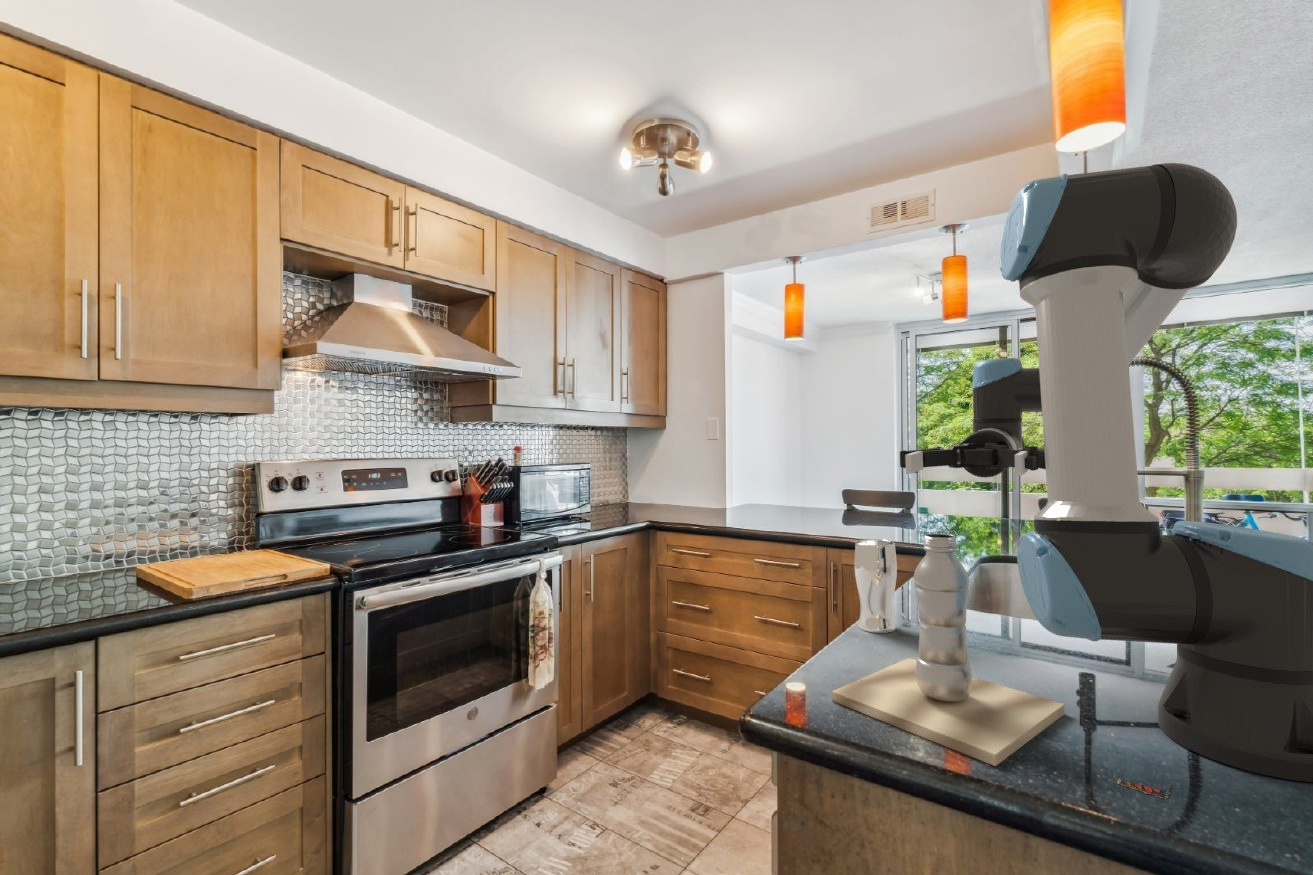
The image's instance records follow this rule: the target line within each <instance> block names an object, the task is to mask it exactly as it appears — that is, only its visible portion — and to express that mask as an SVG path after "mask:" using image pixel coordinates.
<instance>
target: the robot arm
mask: <svg viewBox="0 0 1313 875" xmlns="http://www.w3.org/2000/svg"><path fill="white" fill-rule="evenodd" d="M1237 227H1238V213H1237V208H1236V205H1235V201H1234V198H1233V195H1232V194H1231V192H1230V191H1229V189H1228V188H1227V187H1226V186H1225V185H1224V183H1223V181H1221V179H1219V178H1218V177H1217V176H1215V175H1214V174H1212V173H1211V172H1208V171H1206V170H1205V169H1204V168H1201V167H1198V166H1196V165H1192V164H1191V165H1190V164H1185V163H1180V162H1165V163H1163V162H1162V163H1158V164H1157V163H1156V164H1152V165H1145V166H1137V167H1129V168H1128V167H1127V168H1119V169H1111V170H1101V171H1093V172H1083V173H1076V174H1068V173H1062V174H1061V175H1059V176H1058V175H1057V176H1053V177H1046V178H1040V179H1036V180H1031V181H1029V182H1028V183H1026V184H1025V185H1024V186H1022V187H1021V188H1020V190H1018V192H1017V194H1016V195H1015V197H1014V199H1013V201H1012V203H1011V205H1010V209H1009V211H1008V213H1007V216H1006V220H1005V224H1004V228H1003V234H1002V238H1001V244H1000V254H999V270H1000V272H1001V276H1002V278H1003V279H1004V280H1006V281H1010V282H1011V283H1013V282H1016V281H1018V284H1019V286H1018V287H1019V297H1020V299H1021V300H1022V301H1024V302H1026V303H1028V304H1030V305H1031V306H1032V307H1033V308H1034V310H1035V323H1036V324H1035V325H1036V339H1037V354H1038V355H1037V356H1038V368H1037V367H1032V368H1030V367H1029V368H1027V367H1026V368H1025V367H1023V364H1022V360H1020V358H1017V357H1016V358H1015V357H1012V358H1010V357H1009V358H1007V357H1006V358H1005V357H1004V358H991V359H983V360H978V361H977V362H975V364H974V366H973V373H972V385H971V389H972V411H973V413H972V414H973V419H972V421H973V422H972V433H970V434H968V435H967V436H965V437H964V438H963V440H962V441H961V442H960V444H959V445H949V446H948V447H947V448H945V449H944V447H942V446H936V447H932V448H923V449H912V450H900V451H899V467H900V468H901V469H905V474H906V475H908V474H910V475H912V474H914V473H915V474H917V473H919V471H922V470H924V468H933V467H935V468H936V467H946V466H947V467H949V468H950V469H961V468H963V469H964V470H965V471H966V472H967V473H969V474H970V475H972V476H975V477H979V478H993V477H995V476H997V475H1000V474H1002V473H1003V472H1004V471H1006V470H1007V469H1009V468H1014V476H1015V477H1017V476H1018V477H1022V476H1023V475H1025V473H1027V472H1028V471H1029V470H1030V471H1037V470H1039V469H1042V470H1045V478H1046V491H1047V492H1046V493H1047V495H1046V496H1047V502H1046V505H1045V506H1043V508H1042V509H1040V510H1039V511H1038V512H1037V513H1036V514H1035V515H1034V516H1033V524H1034V525H1033V526H1034V531H1033V530H1029V531H1027V532H1024V533H1022V535H1021V536H1020V537H1019V539H1018V542H1017V549H1018V550H1017V551H1016V559H1017V560H1016V561H1017V568H1018V569H1017V570H1018V573H1019V574H1018V575H1019V578H1020V583H1021V586H1022V589H1023V592H1024V593H1023V594H1024V595H1025V598H1026V601H1027V603H1028V605H1029V606H1028V607H1030V610H1031V612H1032V613H1033V616H1034V617H1035V619H1036V620H1037V621H1038V623H1039V624H1040V625H1041V626H1042V627H1043V628H1044V629H1045V630H1047V631H1048V632H1050V633H1051V634H1053V635H1055V636H1059V637H1065V638H1073V639H1075V638H1076V639H1083V640H1084V639H1086V640H1089V641H1091V642H1098V641H1103V640H1104V641H1105V640H1106V641H1121V642H1135V643H1136V642H1138V643H1140V642H1141V643H1153V644H1154V643H1157V644H1176V661H1175V663H1174V665H1173V668H1172V670H1171V673H1170V675H1169V677H1168V680H1167V682H1166V683H1165V686H1164V689H1163V691H1162V694H1161V696H1160V699H1159V701H1158V705H1157V712H1158V714H1157V715H1158V719H1157V720H1158V721H1157V722H1158V727H1159V728H1160V730H1161V731H1162V732H1163V733H1164V734H1165V735H1166V736H1168V738H1170V739H1171V740H1173V741H1174V742H1176V743H1177V744H1179V745H1181V746H1182V747H1184V748H1186V749H1188V750H1190V751H1192V752H1194V753H1197V754H1198V755H1200V756H1203V757H1205V758H1208V759H1211V760H1213V761H1217V762H1219V763H1222V764H1225V765H1228V766H1231V767H1233V768H1238V769H1240V770H1244V771H1247V772H1252V773H1255V774H1260V775H1264V776H1269V777H1273V778H1278V779H1285V780H1291V781H1297V782H1298V781H1299V782H1305V783H1306V782H1308V783H1313V541H1310V540H1309V539H1305V538H1303V537H1298V536H1295V535H1288V534H1285V533H1278V532H1273V531H1269V530H1268V531H1267V530H1261V529H1257V528H1249V527H1243V526H1235V525H1229V524H1228V525H1227V524H1220V523H1213V522H1203V521H1196V520H1195V521H1194V520H1178V521H1176V522H1175V523H1174V526H1173V527H1172V528H1171V532H1172V533H1171V534H1161V530H1160V529H1161V528H1160V518H1159V517H1158V516H1157V515H1154V514H1153V512H1151V511H1149V509H1147V508H1146V507H1144V506H1143V505H1142V503H1141V500H1140V490H1139V475H1138V466H1137V465H1138V464H1137V454H1136V453H1137V452H1136V441H1135V440H1136V439H1135V427H1134V418H1133V415H1134V414H1133V405H1132V404H1133V402H1132V392H1131V379H1130V378H1131V376H1130V368H1129V366H1130V364H1131V363H1132V362H1133V360H1134V359H1135V358H1136V357H1137V356H1138V355H1139V353H1140V352H1141V351H1142V349H1143V348H1144V347H1145V345H1146V344H1147V343H1148V342H1149V340H1150V339H1151V338H1152V337H1153V335H1154V334H1155V333H1156V332H1157V331H1158V330H1159V328H1160V327H1161V325H1162V324H1163V323H1164V321H1165V320H1167V318H1168V316H1170V314H1171V313H1172V311H1173V310H1174V309H1175V308H1176V306H1178V304H1179V303H1180V301H1181V300H1182V299H1183V297H1184V296H1185V295H1186V294H1187V293H1188V292H1189V290H1191V289H1194V288H1197V287H1200V286H1201V285H1203V284H1205V283H1206V282H1208V281H1209V279H1210V278H1211V277H1212V276H1213V275H1214V274H1215V272H1216V271H1217V270H1218V269H1219V268H1220V266H1221V265H1222V264H1223V262H1225V259H1226V258H1227V256H1228V255H1229V253H1230V251H1231V249H1232V247H1233V243H1234V241H1235V237H1236V235H1237V234H1236V233H1237ZM1034 412H1035V413H1036V412H1038V413H1039V412H1041V416H1042V417H1041V419H1042V433H1043V446H1044V449H1038V448H1039V447H1038V446H1037V445H1036V446H1034V445H1033V446H1025V440H1024V439H1023V435H1022V432H1023V430H1022V428H1023V426H1022V424H1023V423H1022V421H1023V416H1022V415H1023V413H1034Z"/></svg>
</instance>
